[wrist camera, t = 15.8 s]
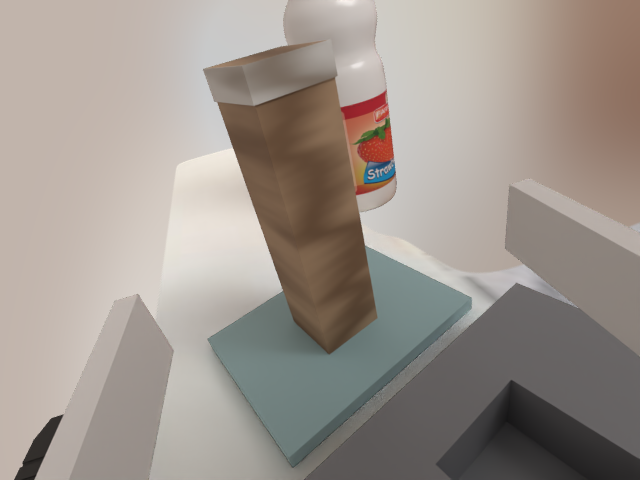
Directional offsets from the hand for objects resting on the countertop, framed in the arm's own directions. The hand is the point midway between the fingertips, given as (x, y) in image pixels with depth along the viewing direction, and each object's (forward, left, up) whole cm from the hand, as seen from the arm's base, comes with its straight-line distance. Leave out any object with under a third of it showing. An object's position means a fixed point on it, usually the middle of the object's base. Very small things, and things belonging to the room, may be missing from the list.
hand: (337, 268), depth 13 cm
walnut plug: (-4, -9, -12) cm, 15 cm away
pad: (-4, -9, -13) cm, 16 cm away
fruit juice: (-20, -24, -13) cm, 34 cm away
